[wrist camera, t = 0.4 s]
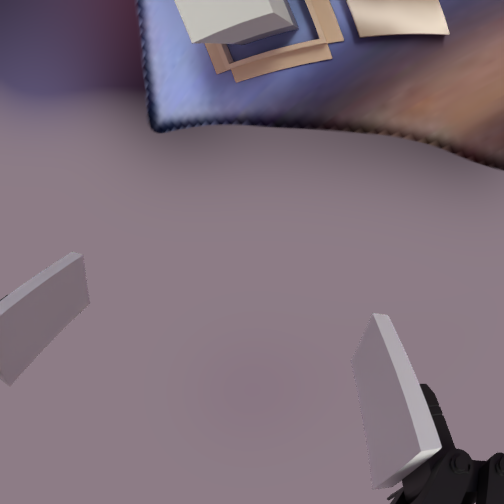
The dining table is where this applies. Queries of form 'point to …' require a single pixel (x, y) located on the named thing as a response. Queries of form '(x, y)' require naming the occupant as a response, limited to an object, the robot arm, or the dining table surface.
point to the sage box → (235, 20)
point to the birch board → (397, 17)
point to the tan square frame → (283, 48)
